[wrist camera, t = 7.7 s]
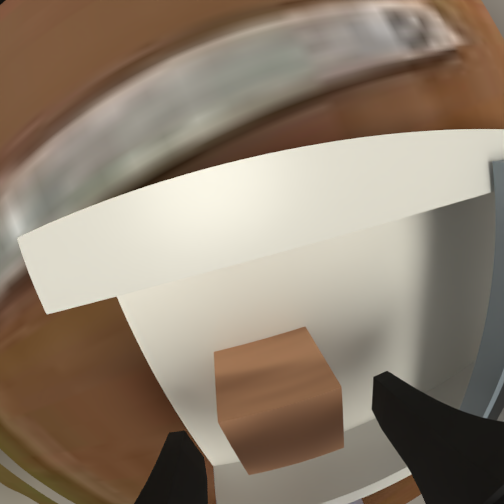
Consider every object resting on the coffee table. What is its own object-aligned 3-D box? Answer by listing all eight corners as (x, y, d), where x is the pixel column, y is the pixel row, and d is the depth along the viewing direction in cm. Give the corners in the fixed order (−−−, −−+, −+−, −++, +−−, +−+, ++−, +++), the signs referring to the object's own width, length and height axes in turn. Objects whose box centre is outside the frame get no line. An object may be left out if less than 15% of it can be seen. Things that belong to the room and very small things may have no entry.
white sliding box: (491, 350, 17) (529, 380, 12) (221, 467, 15) (229, 532, 10) (504, 131, 12) (566, 134, 6) (96, 207, 10) (17, 237, 5)
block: (315, 389, 13) (343, 447, 9) (238, 411, 13) (248, 475, 9) (305, 326, 12) (341, 386, 8) (213, 351, 12) (217, 422, 8)
